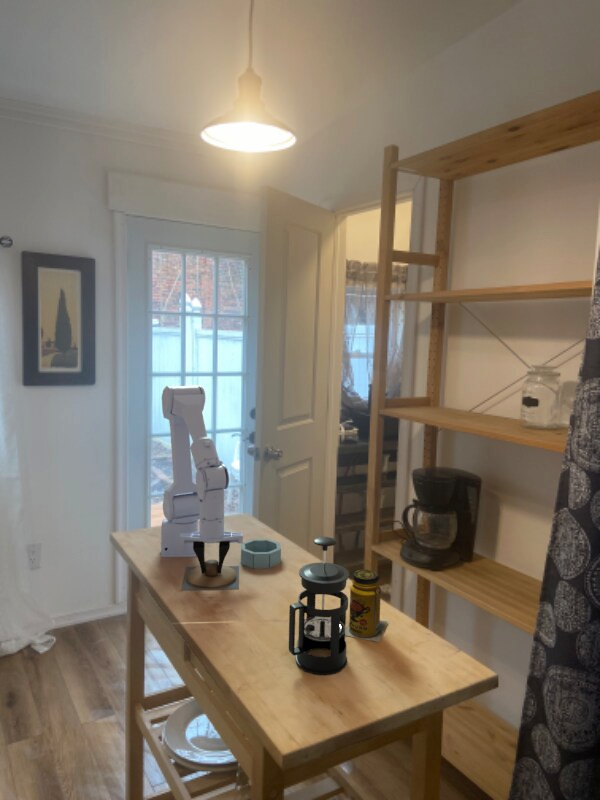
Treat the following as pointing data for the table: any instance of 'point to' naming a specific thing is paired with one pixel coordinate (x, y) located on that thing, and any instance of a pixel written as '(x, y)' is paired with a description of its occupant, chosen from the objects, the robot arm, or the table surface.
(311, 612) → the french press
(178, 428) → the robot arm
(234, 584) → the mat
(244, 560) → the bowl
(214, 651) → the table surface
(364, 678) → the table surface
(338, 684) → the table surface
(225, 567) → the lid
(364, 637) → the condiment
